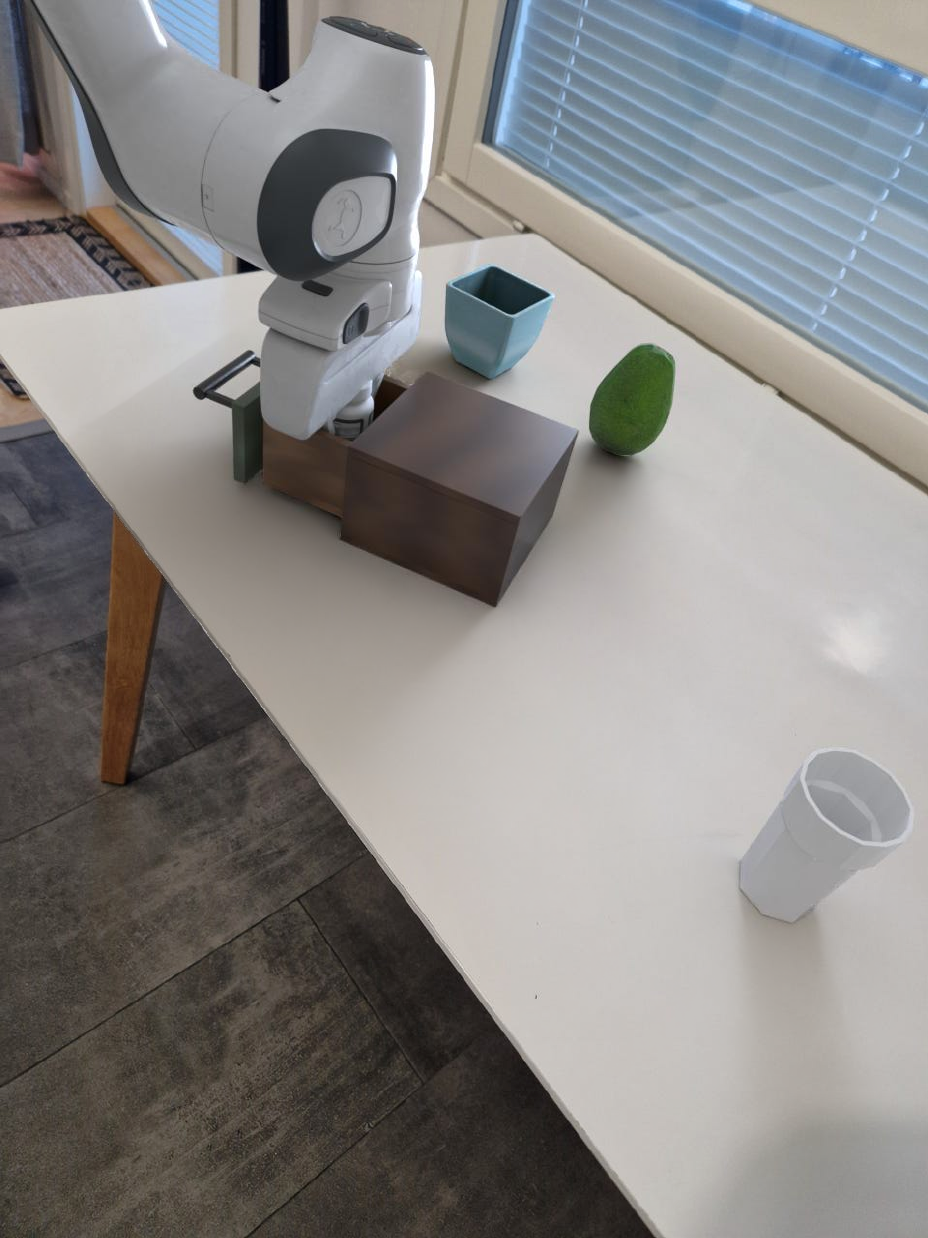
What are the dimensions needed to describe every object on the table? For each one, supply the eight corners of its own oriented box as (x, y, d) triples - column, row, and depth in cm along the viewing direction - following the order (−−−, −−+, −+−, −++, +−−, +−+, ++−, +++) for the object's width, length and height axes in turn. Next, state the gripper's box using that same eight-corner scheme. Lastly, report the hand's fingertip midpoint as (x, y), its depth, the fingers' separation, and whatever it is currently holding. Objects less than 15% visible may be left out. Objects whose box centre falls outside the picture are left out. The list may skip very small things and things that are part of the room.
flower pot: (538, 368, 99) (557, 293, 93) (495, 394, 94) (512, 317, 87) (477, 336, 102) (491, 261, 96) (431, 360, 96) (443, 283, 90)
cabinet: (339, 539, 73) (347, 445, 67) (412, 459, 83) (426, 370, 76) (495, 607, 71) (520, 517, 64) (552, 516, 81) (579, 429, 74)
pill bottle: (339, 437, 79) (345, 354, 74) (378, 460, 78) (388, 378, 72) (303, 457, 76) (306, 373, 70) (343, 482, 75) (351, 398, 69)
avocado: (650, 479, 88) (693, 374, 79) (575, 459, 88) (609, 352, 79) (654, 437, 93) (693, 334, 85) (583, 418, 93) (616, 314, 85)
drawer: (178, 456, 76) (172, 377, 71) (260, 392, 85) (260, 318, 79) (370, 539, 73) (379, 463, 67) (435, 464, 82) (448, 392, 76)
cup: (799, 837, 60) (879, 745, 52) (841, 929, 56) (936, 843, 48) (712, 842, 59) (782, 748, 51) (749, 937, 54) (832, 850, 46)
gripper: (382, 221, 73) (367, 368, 83) (243, 309, 59) (245, 473, 69) (450, 245, 72) (427, 391, 82) (324, 341, 58) (314, 503, 68)
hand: (343, 429), depth 75 cm, fingers closed on pill bottle, 5 cm apart
